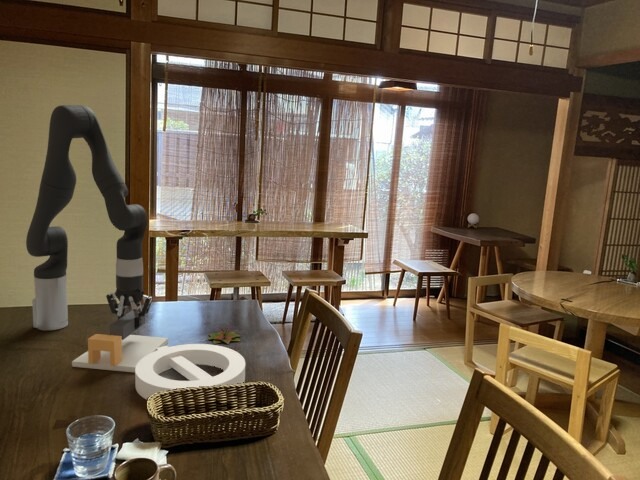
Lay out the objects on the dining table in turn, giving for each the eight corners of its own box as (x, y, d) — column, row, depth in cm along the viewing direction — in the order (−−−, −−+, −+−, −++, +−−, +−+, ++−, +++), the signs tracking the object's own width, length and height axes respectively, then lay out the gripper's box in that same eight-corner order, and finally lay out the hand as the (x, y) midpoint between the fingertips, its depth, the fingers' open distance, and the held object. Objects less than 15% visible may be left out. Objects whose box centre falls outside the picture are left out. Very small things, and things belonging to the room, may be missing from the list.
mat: (72, 366, 134) (72, 361, 134) (113, 337, 156) (113, 333, 155) (135, 372, 132) (135, 367, 132) (168, 342, 154) (168, 338, 154)
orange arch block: (88, 363, 132) (87, 339, 131) (96, 357, 136) (96, 333, 135) (114, 366, 132) (114, 341, 130) (122, 360, 136) (121, 336, 134)
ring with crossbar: (158, 356, 144) (158, 341, 143) (252, 362, 144) (253, 347, 143) (116, 403, 117) (116, 385, 116) (233, 411, 116) (233, 392, 115)
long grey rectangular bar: (109, 338, 140) (109, 325, 139) (132, 322, 153) (132, 309, 153) (123, 339, 139) (123, 326, 139) (145, 323, 153) (145, 311, 152)
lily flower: (246, 344, 157) (247, 330, 156) (209, 348, 152) (209, 334, 152) (238, 331, 168) (238, 318, 167) (202, 334, 163) (202, 321, 163)
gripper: (99, 273, 141) (100, 330, 144) (147, 277, 140) (147, 334, 143) (112, 267, 148) (113, 321, 151) (158, 271, 147) (158, 325, 150)
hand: (129, 327), depth 147 cm, fingers closed on long grey rectangular bar, 4 cm apart
